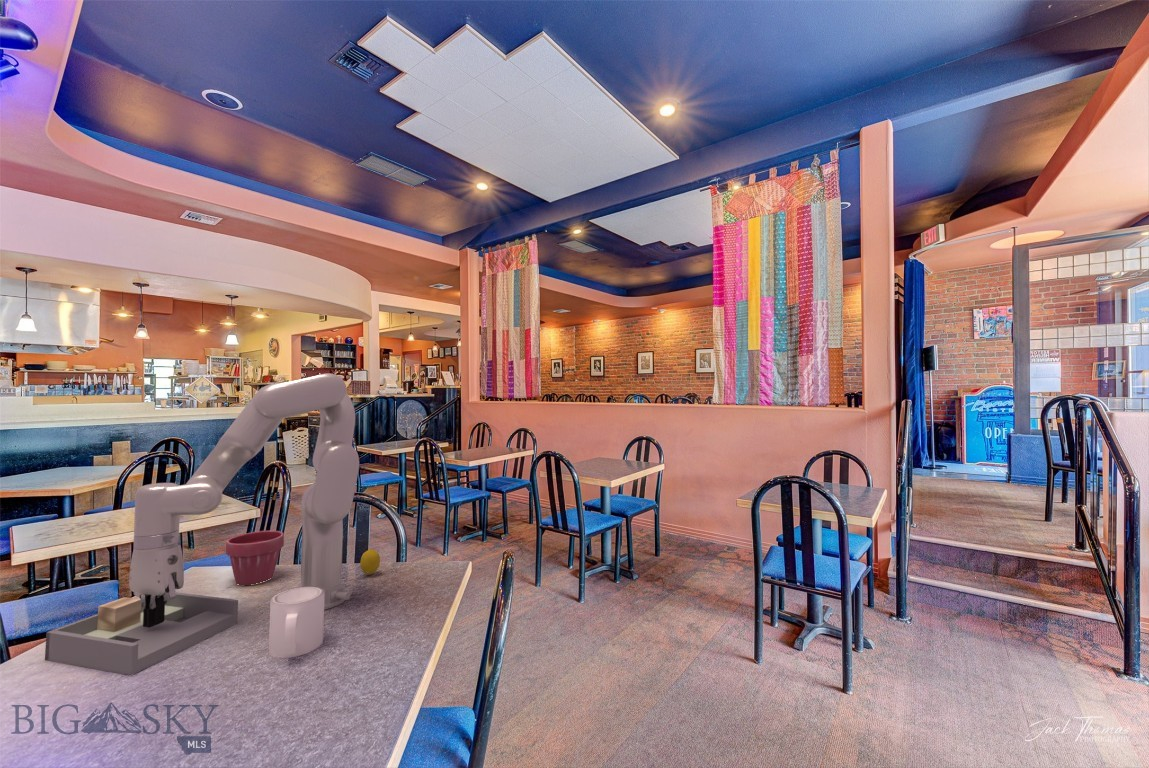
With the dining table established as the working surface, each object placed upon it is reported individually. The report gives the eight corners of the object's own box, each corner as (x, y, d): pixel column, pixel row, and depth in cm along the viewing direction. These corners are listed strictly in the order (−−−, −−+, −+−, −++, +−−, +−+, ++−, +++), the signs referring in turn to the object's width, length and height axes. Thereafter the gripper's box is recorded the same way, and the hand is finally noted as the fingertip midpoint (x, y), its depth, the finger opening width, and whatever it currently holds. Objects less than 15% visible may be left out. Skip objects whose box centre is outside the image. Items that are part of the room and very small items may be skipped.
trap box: (237, 623, 111) (238, 599, 112) (131, 675, 90) (132, 646, 90) (162, 613, 117) (163, 590, 117) (44, 659, 95) (46, 632, 95)
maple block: (140, 621, 107) (141, 599, 107) (114, 632, 102) (115, 608, 102) (123, 619, 108) (124, 597, 108) (97, 629, 103) (98, 606, 103)
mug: (320, 659, 96) (322, 606, 97) (261, 671, 92) (263, 615, 92) (324, 630, 108) (326, 583, 109) (272, 639, 104) (274, 590, 105)
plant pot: (211, 587, 133) (213, 541, 134) (255, 570, 147) (257, 528, 147) (252, 592, 130) (254, 545, 130) (293, 574, 143) (295, 532, 144)
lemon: (372, 579, 140) (373, 552, 140) (355, 577, 141) (356, 550, 141) (383, 572, 145) (384, 546, 146) (367, 571, 146) (368, 545, 147)
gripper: (200, 537, 106) (197, 620, 105) (150, 533, 109) (147, 613, 109) (163, 547, 99) (160, 637, 98) (111, 542, 102) (108, 628, 102)
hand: (153, 624), depth 103 cm, fingers closed
